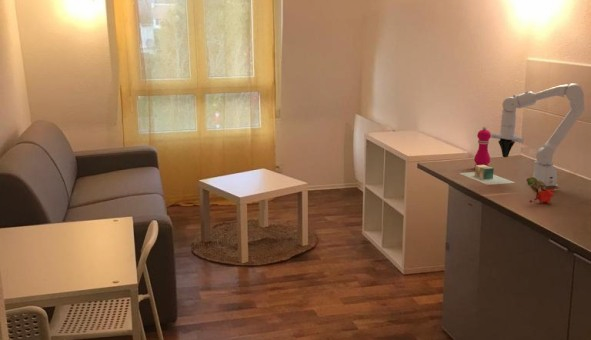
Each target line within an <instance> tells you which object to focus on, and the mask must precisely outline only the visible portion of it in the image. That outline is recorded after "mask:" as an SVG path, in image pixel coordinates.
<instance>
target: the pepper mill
mask: <svg viewBox="0 0 591 340" xmlns="http://www.w3.org/2000/svg"><path fill="white" fill-rule="evenodd" d="M491 134H492V133H491V132H490V131H489V130H487V126H482V129H480V130H479V131H478V132H477V138H478V140H477V143H478V149H477V151H476V154H475V156H474V159H473V161H474V163H475V165H474V167H475V166H476V165H486V166H489V164H490V162H491V156H490V153H489V151H488V146H489V144H490V139H492V138H491ZM489 167H490V166H489Z"/></svg>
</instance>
